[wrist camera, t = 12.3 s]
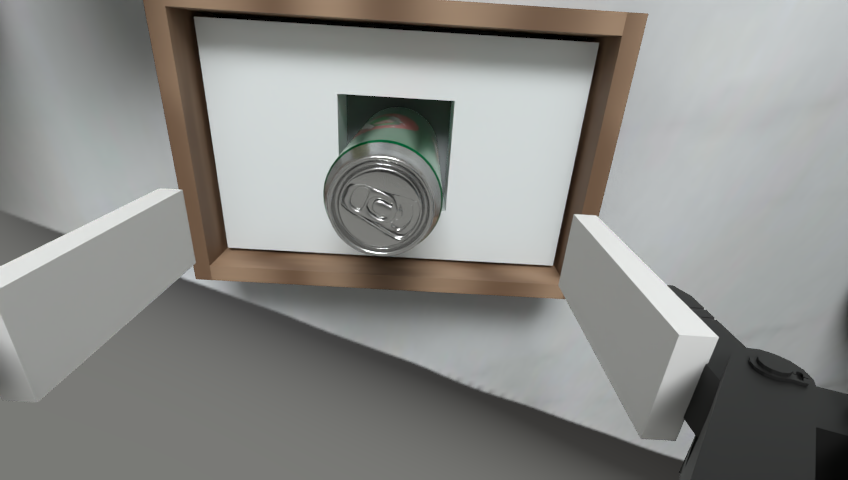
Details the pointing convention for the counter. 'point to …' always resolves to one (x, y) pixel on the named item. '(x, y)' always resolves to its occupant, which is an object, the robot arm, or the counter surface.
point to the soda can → (386, 184)
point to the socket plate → (404, 78)
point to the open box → (396, 6)
